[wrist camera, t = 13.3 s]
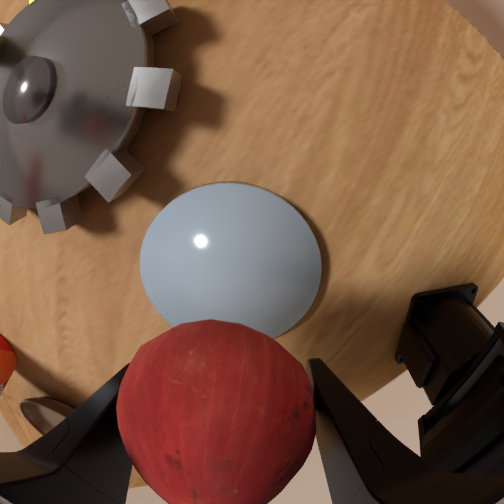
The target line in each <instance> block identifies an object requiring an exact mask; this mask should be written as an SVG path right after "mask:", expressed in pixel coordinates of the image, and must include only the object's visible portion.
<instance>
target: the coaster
mask: <svg viewBox="0 0 504 504" xmlns="http://www.w3.org/2000/svg"><path fill="white" fill-rule="evenodd" d="M321 273H322V264H321V255H320V250H319V247H318V244H317V241H316V238H315V236H314V234H313V233H312V231H311V229H310V227H309V225H308V224H307V222H306V221H305V219H304V218H303V217H302V215H301V214H300V213H299V212H298V211H297V210H296V209H295V208H294V207H293V206H292V205H291V204H290V203H289V202H287V201H286V200H285V199H283V198H282V197H281V196H279V195H277V194H275V193H274V192H272V191H270V190H267V189H265V188H262V187H260V186H256V185H252V184H248V183H243V182H233V181H229V182H215V183H209V184H205V185H202V186H198V187H195V188H193V189H191V190H189V191H187V192H184V193H183V194H181V195H180V196H178V197H177V198H175V199H174V200H172V201H171V202H170V203H169V204H168V205H167V206H166V207H165V208H164V209H163V210H162V211H161V212H160V213H159V214H158V215H157V216H156V218H155V219H154V220H153V222H152V223H151V225H150V227H149V228H148V230H147V232H146V235H145V237H144V240H143V243H142V247H141V252H140V274H141V279H142V283H143V286H144V289H145V292H146V294H147V296H148V298H149V300H150V302H151V303H152V305H153V306H154V308H155V309H156V310H157V312H158V313H159V314H160V315H161V316H162V317H163V318H164V319H165V320H166V321H167V322H168V323H169V324H170V325H171V326H173V327H176V326H177V325H179V324H181V323H188V322H195V321H201V320H208V319H214V320H220V321H226V322H233V323H240V324H243V325H245V326H248V327H250V328H252V329H254V330H256V331H259V332H261V333H263V334H266V335H268V336H269V337H270V338H272V339H273V338H275V337H277V336H279V335H281V334H283V333H284V332H286V331H287V330H289V329H290V328H291V327H293V326H294V325H295V324H296V323H297V322H298V321H299V320H300V319H301V318H302V317H303V316H304V315H305V314H306V312H307V311H308V310H309V308H310V307H311V305H312V303H313V302H314V299H315V297H316V295H317V292H318V289H319V285H320V282H321Z"/></svg>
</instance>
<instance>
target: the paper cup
mask: <svg viewBox="0 0 504 504" xmlns="http://www.w3.org/2000/svg"><path fill="white" fill-rule="evenodd" d="M17 363H18V361H17V357H16V354H15V352H14V351H13V349H12V347H11V346H10V345H9V343H8V342H7V341H6V340H5V338H4V337H3V336H2V335H1V334H0V395H1V393H2V391H3V389H4V387H5V386H6V384H7V382H8V380H9V378H10V377H11V375H12V373H13V371H14V369H15V367H16V365H17Z"/></svg>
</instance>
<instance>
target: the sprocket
mask: <svg viewBox="0 0 504 504" xmlns="http://www.w3.org/2000/svg"><path fill="white" fill-rule="evenodd" d="M177 22H179V21H178V19H177V17H176V15H175V14H174V12H173V10H172V8H171V6H170V4H169V2H168V0H30V1H29V5H27V6H26V7H25V8H24V9H23V10H22V11H21V12H19V14H18V15H17V16H16V17H15V18H14V19H13V20H12V21H11V22H10V23H9V24H4V23H0V218H1V219H2V220H3V221H5V222H6V223H7V224H8V225H11V224H12V223H14V222H16V221H18V220H19V219H21V218H23V217H25V216H26V215H27V209H37V210H38V214H39V218H40V222H41V226H42V229H43V233H44V234H48V233H54V232H59V231H65V230H67V229H69V228H70V227H72V226H73V225H75V224H76V223H78V222H79V221H81V220H82V219H83V217H82V213H81V209H80V205H79V200H78V196H77V194H79V193H81V192H83V191H85V190H87V189H88V188H90V187H91V186H93V187H94V188H95V189H96V190H97V191H98V192H99V193H100V194H101V195H102V196H103V198H104V199H105V200H106V201H107V202H108V203H109V202H110V201H112V200H114V199H115V198H117V197H119V196H120V195H122V194H124V193H125V191H126V190H127V189H128V188H129V187H130V186H131V184H132V183H133V182H134V181H135V180H136V179H137V178H138V176H139V175H140V174H141V173H142V172H143V171H144V170H145V168H144V167H143V166H142V165H141V164H140V163H139V162H138V161H137V160H136V159H135V158H134V157H133V156H132V155H131V154H130V152H129V151H128V150H127V148H128V146H129V144H130V143H131V141H132V139H133V137H134V136H135V134H136V132H137V130H138V128H139V125H140V123H141V121H142V119H143V116H144V113H145V111H146V108H147V109H158V110H167V111H175V108H176V103H177V99H178V94H179V90H180V86H181V82H182V78H183V76H182V75H180V74H179V73H178V72H177V71H175V70H174V69H167V68H155V51H154V43H153V38H152V35H153V34H155V33H157V32H159V31H161V30H163V29H165V28H167V27H169V26H171V25H173V24H175V23H177Z"/></svg>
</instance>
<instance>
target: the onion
mask: <svg viewBox="0 0 504 504" xmlns="http://www.w3.org/2000/svg"><path fill="white" fill-rule="evenodd" d="M116 410H117V420H118V428H119V431H120V434H121V438H122V441H123V444H124V446H125V449H126V451H127V454H128V456H129V458H130V460H131V462H132V463H133V465H134V467H135V469H136V470H137V472H138V473H139V474H140V476H141V477H142V478H143V480H144V481H145V482H146V483H147V484H148V485H149V486H150V487H151V488H152V489H153V490H154V491H155V492H156V493H157V494H158V495H159V496H160V497H161V498H162V499H164V500H165V501H166V502H167V503H168V504H267V503H269V502H270V501H271V500H272V499H274V498H275V497H276V496H277V495H278V494H279V493H280V492H281V491H282V490H283V489H284V488H285V486H286V485H287V484H288V483H289V482H290V480H291V479H292V478H293V477H294V476H295V475H296V473H297V472H298V471H299V470H300V469H301V467H302V466H303V464H304V463H305V461H306V459H307V457H308V455H309V454H310V452H311V450H312V446H313V443H314V438H315V434H316V409H315V403H314V397H313V391H312V386H311V382H310V380H309V378H308V376H307V374H306V372H305V370H304V368H303V365H302V364H301V363H300V362H299V361H298V360H296V359H295V358H294V357H293V356H292V355H291V354H290V353H289V352H288V351H287V350H286V349H284V348H283V347H282V346H281V345H280V344H279V343H278V342H276V341H275V340H273V339H272V338H270V337H269V336H268V335H266V334H263V333H261V332H259V331H256V330H254V329H252V328H250V327H248V326H245V325H243V324H240V323H233V322H226V321H220V320H214V319H208V320H201V321H195V322H188V323H181V324H179V325H177V326H176V327H174V328H172V329H170V330H168V331H166V332H165V333H163V334H161V335H159V336H157V337H156V338H154V339H152V340H150V341H149V342H147V343H145V344H143V345H142V346H141V347H140V348H139V350H138V351H137V353H136V355H135V356H134V358H133V359H132V361H131V363H130V364H129V366H128V368H127V370H126V373H125V375H124V377H123V380H122V382H121V384H120V388H119V393H118V399H117V405H116Z"/></svg>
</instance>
